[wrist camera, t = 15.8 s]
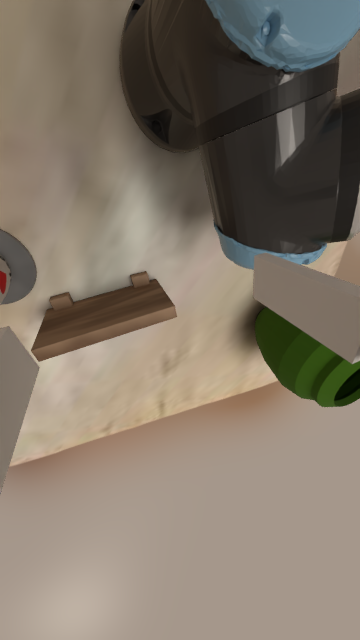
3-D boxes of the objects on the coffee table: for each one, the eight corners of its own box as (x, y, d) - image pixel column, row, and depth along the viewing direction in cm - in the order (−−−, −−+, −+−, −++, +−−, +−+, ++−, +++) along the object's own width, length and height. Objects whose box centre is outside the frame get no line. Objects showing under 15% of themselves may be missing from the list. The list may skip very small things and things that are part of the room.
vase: (257, 357, 64) (329, 431, 44) (222, 325, 53) (298, 404, 33) (308, 310, 61) (410, 368, 41) (282, 266, 50) (404, 315, 30)
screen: (41, 299, 37) (22, 339, 27) (153, 269, 40) (172, 293, 31) (57, 327, 40) (46, 371, 30) (160, 297, 44) (179, 327, 34)
